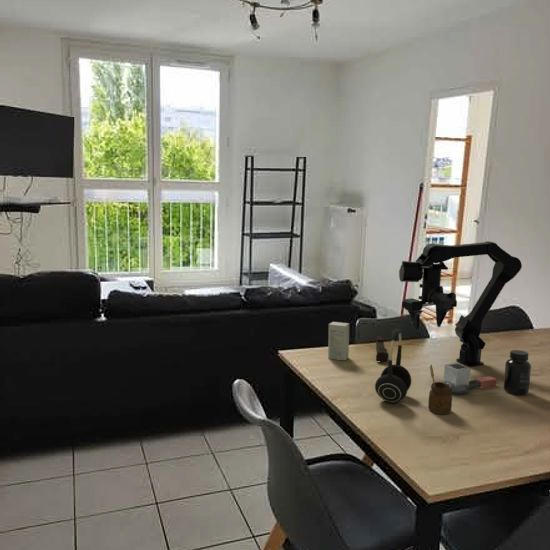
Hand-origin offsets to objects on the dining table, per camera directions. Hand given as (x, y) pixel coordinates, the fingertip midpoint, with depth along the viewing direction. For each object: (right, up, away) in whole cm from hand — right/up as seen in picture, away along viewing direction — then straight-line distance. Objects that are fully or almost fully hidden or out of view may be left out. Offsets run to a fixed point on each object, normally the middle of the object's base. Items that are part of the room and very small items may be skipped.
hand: (427, 327), depth 175 cm
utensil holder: (-7, -19, -35) cm, 41 cm away
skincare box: (-30, -11, +4) cm, 32 cm away
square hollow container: (+2, -14, -22) cm, 26 cm away
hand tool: (-15, -11, +10) cm, 20 cm away
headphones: (-18, -17, -28) cm, 38 cm away
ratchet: (+7, -16, -20) cm, 26 cm away
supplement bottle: (+20, -17, -21) cm, 33 cm away
